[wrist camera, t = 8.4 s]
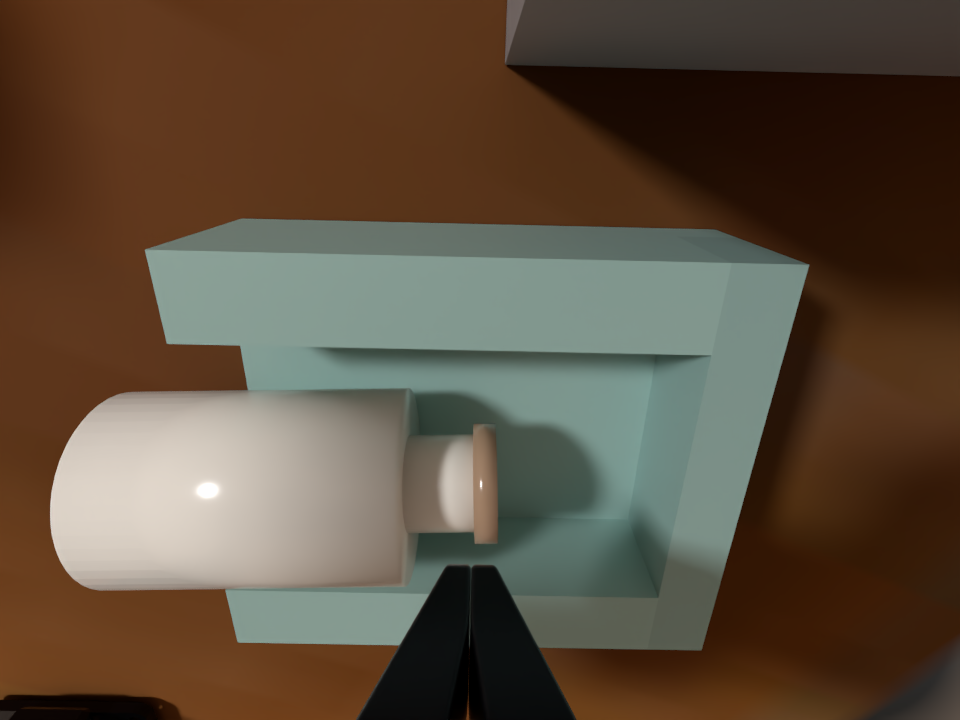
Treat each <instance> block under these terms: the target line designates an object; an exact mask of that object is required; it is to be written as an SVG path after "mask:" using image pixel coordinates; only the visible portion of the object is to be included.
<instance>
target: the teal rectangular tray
mask: <svg viewBox="0 0 960 720" xmlns="http://www.w3.org/2000/svg"><path fill="white" fill-rule="evenodd" d="M145 252H146V257H147V261H148V265H149V269H150V274H151V278H152V282H153V286H154V290H155V295H156V299H157V303H158V307H159V312H160V316H161V320H162V324H163V329H164V333H165V337H166V341H167V344H198V345H240V347H241V352H242V358H243V364H244V370H245V375H246V381H247V387H248V390H302V389H371V388H410V389H412V391H413V393H414V396H415V399H416V404H417V409H418V416H419V425H420V435H455V434H473V426H474V423H495V426H496V446H497V485H498V544H475V540H474V532H463V533H419V537H418V546H417V553H416V559H415V565H414V570H413V574H412V577H411V580H410V582H409V584H408V585H407V586H406V587H349V588H262V589H226V590H225V591H226V595H227V599H228V603H229V607H230V612H231V616H232V620H233V624H234V629H235V633H236V637H237V641H238V642H242V643H300V644H358V645H400V644H401V642H402V640H403V638H404V637H405V635H406V633H407V631H408V630H409V628H410V626H411V625H412V623H413V621H414V619H415V618H416V616H417V614H418V613H419V611H420V609H421V607H422V606H423V604H424V602H425V601H426V599H427V597H428V595H429V594H430V592H431V590H432V589H433V587H434V585H435V583H436V582H437V580H438V578H439V577H440V575H441V573H442V571H443V570H444V568H445V567H446V566H447V565H448V564H468V565H469V566H470V567H471V568H472V566H473V565H475V564H481V565H494V566H496V567H497V569H498V571H499V573H500V574H501V576H502V578H503V580H504V582H505V584H506V586H507V588H508V590H509V592H510V594H511V595H512V597H513V599H514V601H515V603H516V605H517V607H518V609H519V611H520V613H521V615H522V616H523V618H524V620H525V622H526V624H527V626H528V628H529V630H530V632H531V634H532V636H533V637H534V639H535V641H536V643H537V645H538V647H539V648H591V649H649V650H702V647H703V643H704V640H705V636H706V633H707V629H708V625H709V622H710V618H711V615H712V611H713V608H714V604H715V600H716V597H717V593H718V590H719V586H720V583H721V579H722V575H723V572H724V568H725V565H726V561H727V557H728V554H729V550H730V547H731V543H732V540H733V536H734V532H735V529H736V525H737V522H738V518H739V515H740V511H741V507H742V504H743V500H744V497H745V493H746V490H747V486H748V482H749V479H750V475H751V472H752V468H753V464H754V461H755V457H756V454H757V450H758V447H759V443H760V439H761V436H762V432H763V429H764V425H765V422H766V418H767V414H768V411H769V407H770V404H771V400H772V397H773V393H774V389H775V386H776V382H777V379H778V375H779V372H780V368H781V364H782V361H783V357H784V354H785V350H786V346H787V343H788V339H789V336H790V332H791V329H792V325H793V321H794V318H795V314H796V311H797V307H798V304H799V300H800V296H801V293H802V289H803V286H804V282H805V279H806V275H807V271H808V268H809V264H806V263H803V262H801V261H798V260H795V259H793V258H790V257H787V256H785V255H782V254H779V253H776V252H774V251H771V250H768V249H766V248H763V247H760V246H758V245H755V244H752V243H750V242H747V241H744V240H742V239H739V238H736V237H734V236H731V235H728V234H726V233H723V232H720V231H718V230H712V229H669V228H626V227H582V226H539V225H495V224H452V223H409V222H365V221H322V220H278V219H239V220H236V221H233V222H230V223H227V224H224V225H221V226H217V227H214V228H211V229H208V230H205V231H202V232H199V233H196V234H193V235H189V236H186V237H183V238H180V239H177V240H174V241H171V242H168V243H164V244H161V245H158V246H155V247H152V248H149V249H146V250H145ZM470 601H471V590H470ZM469 646H470V635H469Z"/></svg>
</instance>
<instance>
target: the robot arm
mask: <svg viewBox="0 0 960 720" xmlns="http://www.w3.org/2000/svg"><path fill="white" fill-rule="evenodd" d="M470 590H471V601H470ZM469 635H470V646H469ZM468 679H469V720H576V718H575V716H574V714H573V712H572V710H571V708H570V706H569V704H568V702H567V701H566V699H565V697H564V695H563V693H562V691H561V689H560V687H559V685H558V683H557V681H556V680H555V678H554V676H553V674H552V672H551V670H550V668H549V666H548V664H547V662H546V660H545V658H544V657H543V655H542V653H541V651H540V649H539V647H538V645H537V643H536V641H535V639H534V637H533V636H532V634H531V632H530V630H529V628H528V626H527V624H526V622H525V620H524V618H523V616H522V615H521V613H520V611H519V609H518V607H517V605H516V603H515V601H514V599H513V597H512V595H511V594H510V592H509V590H508V588H507V586H506V584H505V582H504V580H503V578H502V576H501V574H500V573H499V571H498V569H497V567H496V566H494V565H481V564H475V565H473V566H472V568H471V567H470V566H469V565H468V564H448V565H447V566H446V567H445V568H444V570H443V571H442V573H441V575H440V577H439V578H438V580H437V582H436V583H435V585H434V587H433V589H432V590H431V592H430V594H429V595H428V597H427V599H426V601H425V602H424V604H423V606H422V607H421V609H420V611H419V613H418V614H417V616H416V618H415V619H414V621H413V623H412V625H411V626H410V628H409V630H408V631H407V633H406V635H405V637H404V638H403V640H402V642H401V644H400V645H399V647H398V649H397V650H396V652H395V654H394V656H393V657H392V659H391V661H390V662H389V664H388V666H387V668H386V669H385V671H384V673H383V674H382V676H381V678H380V680H379V681H378V683H377V685H376V686H375V688H374V690H373V692H372V693H371V695H370V697H369V698H368V700H367V702H366V704H365V705H364V707H363V709H362V710H361V712H360V714H359V716H358V717H357V719H356V720H466V717H467V706H468ZM0 720H158V719H157V717H156V714H155V711H154V709H153V708H152V707H151V706H149V705H147V704H145V703H139V702H85V701H24V700H0Z"/></svg>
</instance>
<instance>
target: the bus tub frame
mask: <svg viewBox="0 0 960 720" xmlns="http://www.w3.org/2000/svg"><path fill="white" fill-rule="evenodd" d="M505 65H531V66H571V67H611V68H650V69H690V70H729V71H769V72H809V73H848V74H888V75H927V76H960V0H507V23H506V51H505Z"/></svg>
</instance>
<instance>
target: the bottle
mask: <svg viewBox="0 0 960 720" xmlns="http://www.w3.org/2000/svg"><path fill="white" fill-rule="evenodd" d="M50 523H51V532H52V538H53V542H54V546H55V550H56V552H57V554H58V557H59V559H60V562H61V563H62V565H63V566H64V568H65V570H66V571H67V572H68V573H69V574H70V576H71V577H72V578H73V579H74V580H76V581H77V582H78V583H80V584H81V585H83V586H85V587H88V588H90V589H95V590H175V589H262V588H349V587H406V586H407V585H408V584H409V582H410V580H411V577H412V574H413V570H414V565H415V559H416V553H417V546H418V537H419V533H463V532H474V540H475V544H498V485H497V446H496V426H495V423H474V426H473V434H455V435H420V425H419V416H418V409H417V404H416V399H415V396H414V393H413V391H412V389H410V388H371V389H302V390H234V391H165V392H127V393H122V394H118V395H116V396H113V397H111V398H109V399H107V400H105V401H104V402H102V403H101V404H99V405H98V406H97V407H96V408H95V409H93V410H92V411H91V412H90V413H89V414H88V415H87V416H86V417H85V418H84V420H83V421H82V422H81V423H80V424H79V426H78V427H77V429H76V430H75V431H74V433H73V435H72V436H71V438H70V440H69V442H68V443H67V445H66V447H65V450H64V452H63V454H62V457H61V459H60V461H59V465H58V468H57V471H56V474H55V478H54V483H53V488H52V494H51V504H50Z"/></svg>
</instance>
